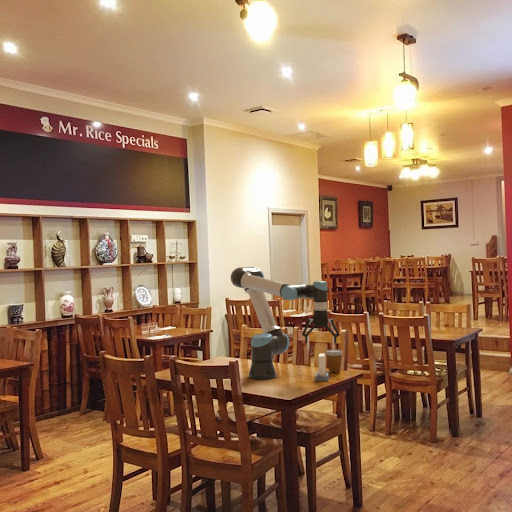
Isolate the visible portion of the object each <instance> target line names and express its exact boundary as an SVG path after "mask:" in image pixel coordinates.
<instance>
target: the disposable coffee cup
mask: <svg viewBox="0 0 512 512" xmlns="http://www.w3.org/2000/svg"><path fill="white" fill-rule="evenodd" d="M325 356H326V360H327V367H328V371H330V372H339V373H341V367H342V357H343V351H342V350H341V349H334V350H333V349H328V350H326V352H325ZM330 372H329V373H330Z"/></svg>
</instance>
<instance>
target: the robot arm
mask: <svg viewBox="0 0 512 512" xmlns="http://www.w3.org/2000/svg"><path fill="white" fill-rule="evenodd" d="M230 281H231V284H232V285H233V286H235V287H237V288H241V289H243V290H244V292H245V294H248V295H249V298H250V301H251V303H252V305H253V308H254V311H255V313H256V317H257V319H258V322H259V325H260V327H261V329H262V332H261V333H256V334H254V335H252V336H251V339H250V341H251V342H250V348H251V349H250V350H251V365H250V368H249V371H248V378H249V379H253V380H270V379H275V378H277V371H276V369H275V366H274V361H273V359H274V358H273V356H276V355H281V354H283V353H285V352H286V351H287V350H288V349H289V346H290V338H289V336H288V334H286V333H285V332H283V331H282V330H283V329H282V328H281V327H279V326H278V325H277V322H276V320H275V318H274V317H275V316H274V315H273V312H272V309H271V307H270V305H269V302H268V300H267V297H266V295H265V293H266V294H270V295H273V296H276V297H280V298H281V297H282V298H283V300H286V301H294V300H299V299H300V300H301V299H312V300H313V304H312V305H313V318H308V319H307V323H306V325H305V326H304V329H303V331H302V333H301V336H303V337H304V339H305V340H304V341H305V343H306V346H307V347H306V349H307V350H309V349H310V336H309V335H310V334H311V333H312V332H313V331H314V329H315V328H316V327H317V328H324V327H325V328H326V329H327V330H328V331H329V332H330V334H331V336H332V350H335V344H337V337H340V332H339V330H338V328H337V326H336V324H335V322H334V318H328V315H329V314H328V283H327V281H324V280H318V281H317V280H314V281H313V283H312V284H306V283H305V284H302V283H299V284H295V285H293V284H289V283H284V282H281V281H276V280H272V279H269V278H266V277H265V276H264V272H263V271H262V269H260V268H259V267H254V266H246V267H237V268H235V269H233V271H231V274H230ZM312 322H313V325H312V326H311V328H310V329H309V330H308V331H307V329H308V328H309V326H310V324H311V323H312ZM328 323H330V324H331V326H332V328H333V330H334V331H335V332H334V331H333V330H332V328H331V327H330V326H329V325H328Z"/></svg>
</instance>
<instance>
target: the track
mask: <svg viewBox="0 0 512 512" xmlns="http://www.w3.org/2000/svg"><path fill="white" fill-rule="evenodd" d="M325 371H326V376H319V370H316V372H315V376H314V382H329V380H330V376H329V375H330V372H329V370H325Z"/></svg>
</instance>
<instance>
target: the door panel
mask: <svg viewBox="0 0 512 512" xmlns="http://www.w3.org/2000/svg"><path fill="white" fill-rule="evenodd" d="M317 359H318V360H317V367H318V370H317V371H319V376H326V371H327V370H326V353H319V354H318V358H317Z"/></svg>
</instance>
